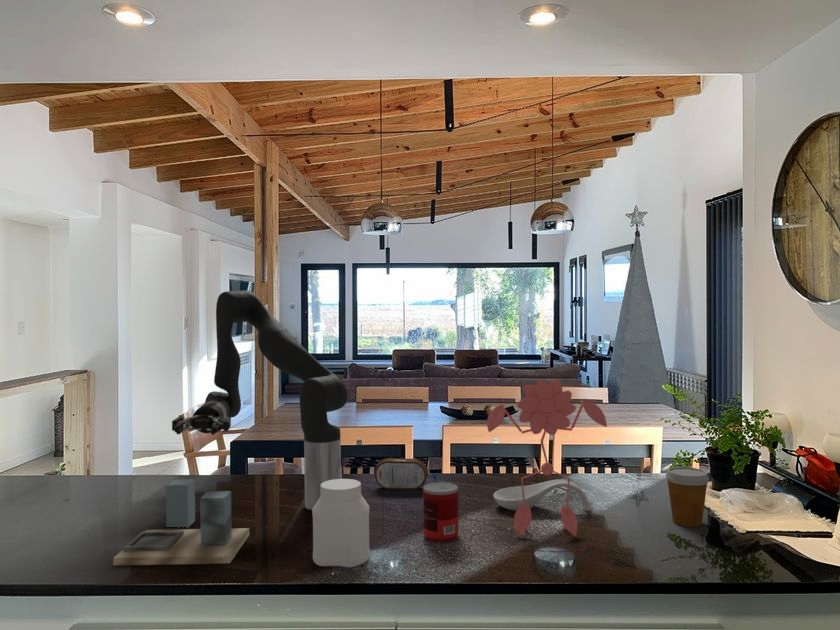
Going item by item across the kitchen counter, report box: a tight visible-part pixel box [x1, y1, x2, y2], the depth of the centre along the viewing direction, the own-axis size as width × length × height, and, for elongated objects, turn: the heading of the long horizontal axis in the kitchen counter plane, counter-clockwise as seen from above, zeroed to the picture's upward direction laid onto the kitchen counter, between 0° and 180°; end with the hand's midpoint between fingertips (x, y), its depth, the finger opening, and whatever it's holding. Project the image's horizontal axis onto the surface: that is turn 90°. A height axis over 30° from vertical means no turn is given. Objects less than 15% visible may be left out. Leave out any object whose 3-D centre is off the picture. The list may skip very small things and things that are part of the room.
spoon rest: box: [493, 478, 590, 512], centre depth 160 cm, size 24×12×7 cm, turn 84°
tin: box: [374, 457, 429, 491], centre depth 178 cm, size 15×3×8 cm, turn 84°
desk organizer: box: [112, 490, 250, 566], centre depth 134 cm, size 23×16×12 cm
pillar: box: [165, 478, 196, 529], centre depth 150 cm, size 5×5×10 cm
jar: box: [311, 478, 371, 568], centre depth 129 cm, size 12×10×15 cm
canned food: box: [422, 481, 459, 543], centre depth 140 cm, size 8×8×11 cm
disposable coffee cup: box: [664, 466, 710, 528], centre depth 148 cm, size 10×10×12 cm
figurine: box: [486, 378, 608, 554], centre depth 138 cm, size 15×26×35 cm, turn 85°
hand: (195, 430), depth 160 cm, fingers open, 8 cm apart
